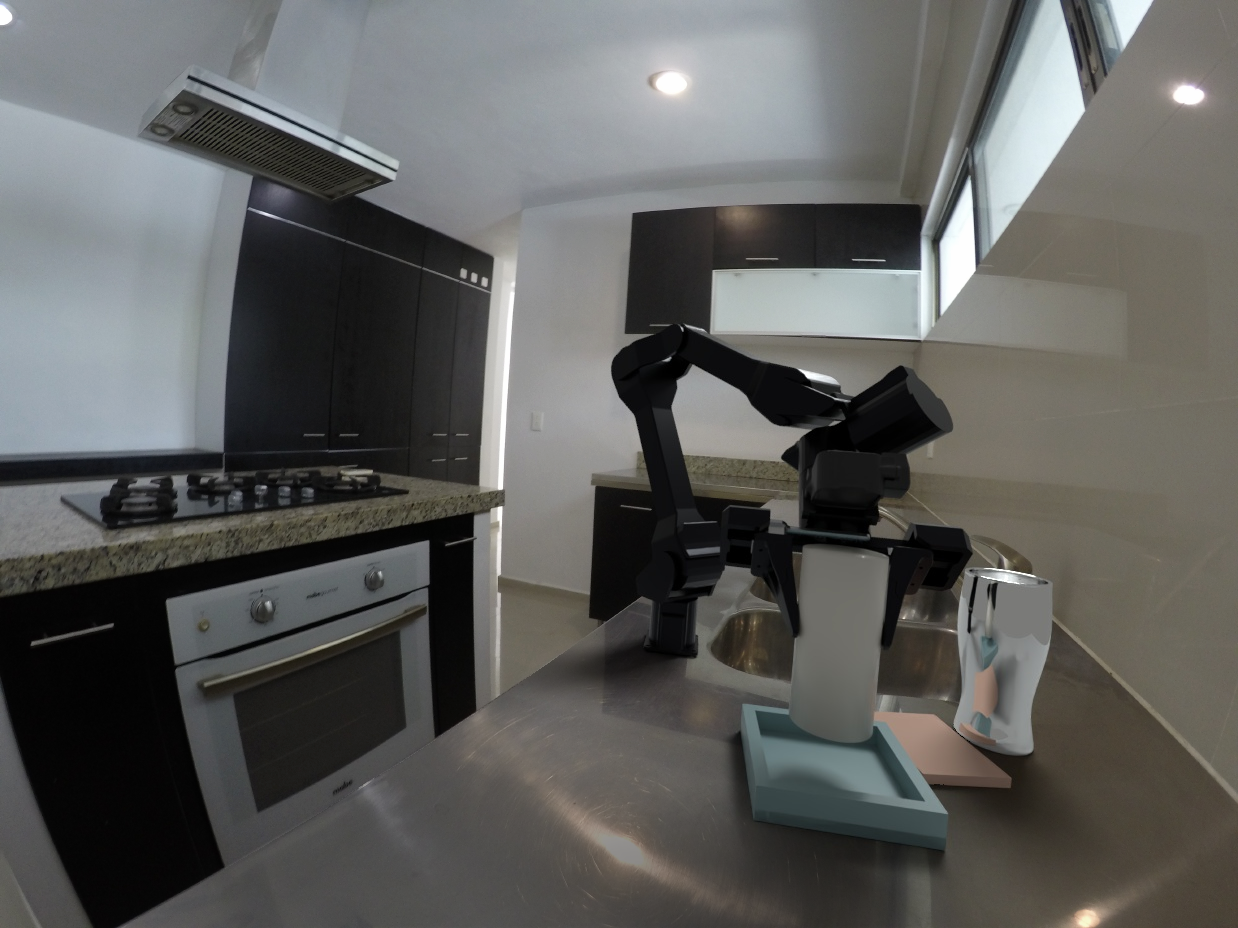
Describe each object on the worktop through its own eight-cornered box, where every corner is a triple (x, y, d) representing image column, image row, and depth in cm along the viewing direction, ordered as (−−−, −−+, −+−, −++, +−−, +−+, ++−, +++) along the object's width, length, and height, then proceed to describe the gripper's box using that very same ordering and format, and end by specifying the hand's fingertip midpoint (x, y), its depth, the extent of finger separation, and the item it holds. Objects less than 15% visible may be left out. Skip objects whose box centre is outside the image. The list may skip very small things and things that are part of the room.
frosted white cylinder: (783, 697, 46) (796, 541, 45) (859, 707, 45) (874, 548, 44) (795, 735, 40) (811, 556, 39) (884, 748, 39) (901, 564, 38)
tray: (740, 729, 49) (742, 703, 49) (883, 749, 47) (885, 721, 47) (753, 819, 37) (756, 785, 37) (945, 850, 35) (948, 813, 35)
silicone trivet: (861, 718, 53) (862, 710, 53) (933, 722, 53) (934, 714, 53) (922, 783, 43) (923, 773, 43) (1010, 787, 43) (1011, 777, 43)
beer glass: (997, 762, 46) (1014, 586, 46) (930, 721, 53) (944, 566, 53) (1059, 755, 48) (1076, 585, 48) (987, 716, 55) (1001, 566, 54)
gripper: (730, 410, 47) (712, 565, 37) (975, 424, 43) (1032, 603, 33) (726, 494, 55) (711, 641, 45) (933, 513, 51) (967, 679, 41)
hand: (840, 641), depth 41 cm, fingers closed on frosted white cylinder, 6 cm apart
